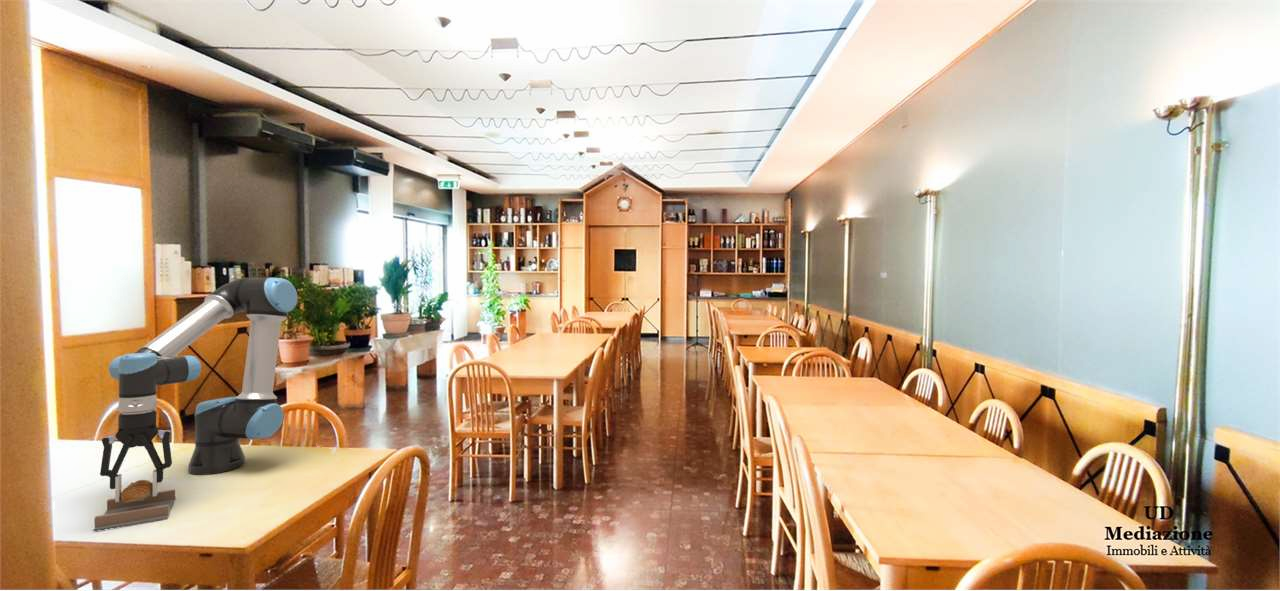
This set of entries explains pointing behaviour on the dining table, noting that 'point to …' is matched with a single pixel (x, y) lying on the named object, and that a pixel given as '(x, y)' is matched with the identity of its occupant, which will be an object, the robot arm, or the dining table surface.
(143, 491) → the pastry
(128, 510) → the pastry holder
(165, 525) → the dining table surface
